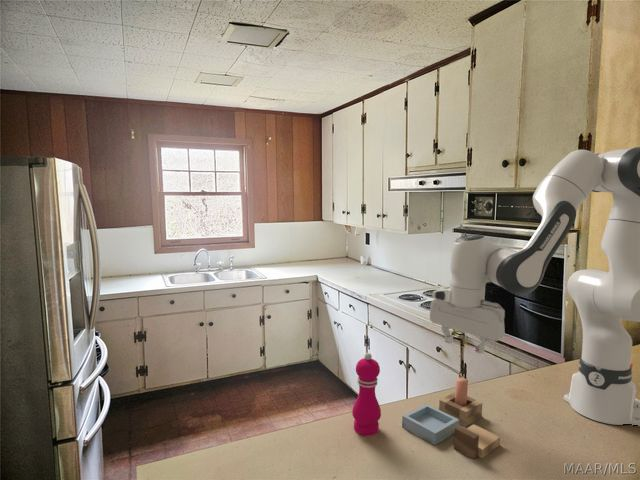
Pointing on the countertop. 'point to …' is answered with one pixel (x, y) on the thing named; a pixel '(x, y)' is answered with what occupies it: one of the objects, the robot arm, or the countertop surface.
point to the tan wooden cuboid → (485, 440)
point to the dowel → (461, 391)
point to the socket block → (461, 409)
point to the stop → (466, 442)
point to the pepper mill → (367, 397)
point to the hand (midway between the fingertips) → (463, 347)
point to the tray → (430, 423)
